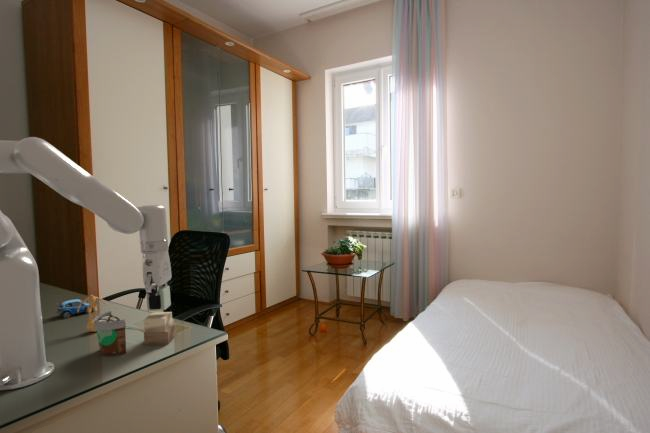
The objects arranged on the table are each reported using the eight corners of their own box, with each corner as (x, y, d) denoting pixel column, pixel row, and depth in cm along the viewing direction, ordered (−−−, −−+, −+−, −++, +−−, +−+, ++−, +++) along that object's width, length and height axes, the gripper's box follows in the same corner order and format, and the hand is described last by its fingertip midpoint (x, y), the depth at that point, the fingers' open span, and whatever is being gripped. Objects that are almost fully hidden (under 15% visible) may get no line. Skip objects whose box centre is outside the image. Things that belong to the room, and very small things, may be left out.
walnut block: (168, 345, 112) (167, 332, 111) (144, 346, 111) (143, 333, 111) (176, 335, 119) (176, 323, 118) (154, 336, 118) (153, 324, 118)
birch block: (165, 331, 112) (164, 318, 111) (144, 332, 111) (143, 319, 111) (172, 324, 118) (171, 311, 117) (152, 325, 117) (151, 312, 117)
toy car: (96, 312, 145) (95, 297, 144) (58, 320, 137) (57, 305, 136) (93, 308, 149) (92, 294, 149) (56, 316, 141) (55, 301, 141)
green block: (164, 310, 112) (163, 290, 111) (147, 310, 111) (146, 291, 111) (170, 304, 117) (169, 285, 116) (154, 305, 116) (153, 286, 116)
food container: (89, 350, 109) (86, 316, 108) (112, 343, 114) (110, 310, 113) (103, 362, 101) (100, 326, 100) (128, 354, 105) (125, 319, 105)
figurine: (79, 336, 120) (76, 299, 119) (79, 330, 125) (75, 295, 124) (109, 330, 125) (106, 294, 124) (107, 325, 129) (105, 290, 129)
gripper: (155, 250, 104) (160, 314, 106) (177, 241, 121) (181, 296, 123) (128, 252, 104) (133, 316, 105) (153, 242, 121) (157, 298, 122)
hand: (159, 305), depth 114 cm, fingers closed on green block, 5 cm apart
